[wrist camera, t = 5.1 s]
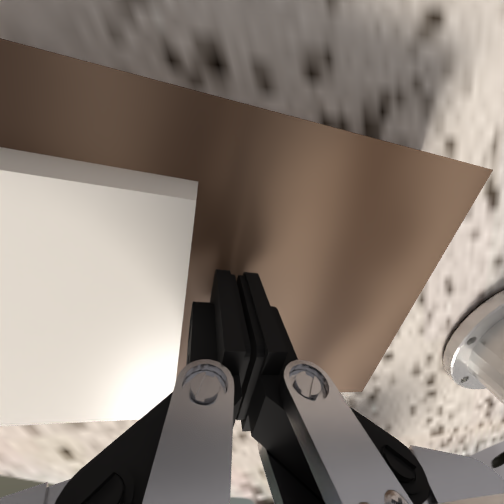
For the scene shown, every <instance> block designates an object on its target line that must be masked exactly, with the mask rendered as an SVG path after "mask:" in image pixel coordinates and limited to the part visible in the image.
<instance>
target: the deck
mask: <svg viewBox="0 0 504 504" xmlns="http://www.w3.org/2000/svg"><path fill="white" fill-rule="evenodd" d="M0 147H3V148H8V149H14V150H20V151H26V152H31V153H37V154H43V155H49V156H54V157H60V158H66V159H72V160H77V161H83V162H89V163H95V164H100V165H106V166H112V167H117V168H123V169H129V170H135V171H140V172H146V173H152V174H158V175H163V176H169V177H175V178H181V179H186V180H192V181H198V189H197V199H196V208H195V216H194V225H193V234H192V243H191V252H190V260H189V269H188V278H187V287H186V296H185V304H184V313H183V322H182V331H181V340H180V349H179V357H178V366H177V375H176V379H177V377H178V375H179V373H180V371H181V370H182V369H183V368H184V367H185V366H186V362H187V348H188V334H189V325H190V317H191V310H192V303H193V301H194V302H210V297H211V291H212V286H213V280H214V274H215V270H216V269H220V270H230V272H231V274H234V275H235V276H236V281H237V277H238V275H243V273H244V272H251V273H258V274H259V277H260V280H261V282H262V285H263V287H264V290H265V293H266V295H267V298H268V301H269V303H270V306H274V307H276V308H277V309H278V311H279V314H280V316H281V319H282V321H283V324H284V326H285V328H286V331H287V333H288V336H289V338H290V341H291V343H292V346H293V348H294V350H295V353H296V355H297V358H298V360H306V361H310V362H312V363H314V364H316V365H318V366H319V367H320V368H322V369H323V370H324V371H325V372H326V373H327V374H328V376H329V377H330V378H331V380H332V381H333V383H334V384H335V386H336V387H337V389H338V390H339V392H362V391H363V389H364V388H365V386H366V384H367V382H368V381H369V379H370V377H371V376H372V374H373V372H374V371H375V369H376V367H377V366H378V364H379V362H380V360H381V359H382V357H383V355H384V354H385V352H386V350H387V349H388V347H389V345H390V344H391V342H392V340H393V338H394V337H395V335H396V333H397V332H398V330H399V328H400V327H401V325H402V323H403V321H404V320H405V318H406V316H407V315H408V313H409V311H410V310H411V308H412V306H413V305H414V303H415V301H416V299H417V298H418V296H419V294H420V293H421V291H422V289H423V288H424V286H425V284H426V283H427V281H428V279H429V277H430V276H431V274H432V272H433V271H434V269H435V267H436V266H437V264H438V262H439V261H440V259H441V257H442V255H443V254H444V252H445V250H446V249H447V247H448V245H449V244H450V242H451V240H452V238H453V237H454V235H455V233H456V232H457V230H458V228H459V227H460V225H461V223H462V222H463V220H464V218H465V216H466V215H467V213H468V211H469V210H470V208H471V206H472V205H473V203H474V201H475V200H476V198H477V196H478V194H479V193H480V191H481V189H482V188H483V186H484V184H485V183H486V181H487V179H488V178H489V176H490V174H491V172H492V171H493V170H491V169H488V168H484V167H480V166H476V165H473V164H469V163H465V162H461V161H458V160H454V159H450V158H446V157H443V156H439V155H435V154H431V153H428V152H424V151H420V150H416V149H413V148H409V147H405V146H401V145H398V144H394V143H390V142H386V141H383V140H379V139H375V138H371V137H368V136H364V135H360V134H356V133H353V132H349V131H345V130H341V129H338V128H334V127H330V126H326V125H323V124H319V123H315V122H311V121H308V120H304V119H300V118H297V117H293V116H289V115H285V114H282V113H278V112H274V111H270V110H267V109H263V108H259V107H255V106H252V105H248V104H244V103H240V102H237V101H233V100H229V99H225V98H222V97H218V96H214V95H210V94H207V93H203V92H199V91H195V90H192V89H188V88H184V87H180V86H177V85H173V84H169V83H165V82H162V81H158V80H154V79H150V78H147V77H143V76H139V75H135V74H132V73H128V72H124V71H120V70H117V69H113V68H109V67H105V66H102V65H98V64H94V63H90V62H87V61H83V60H79V59H75V58H72V57H68V56H64V55H60V54H57V53H53V52H49V51H45V50H42V49H38V48H34V47H30V46H27V45H23V44H19V43H15V42H12V41H8V40H4V39H0Z"/></svg>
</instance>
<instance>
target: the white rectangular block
mask: <svg viewBox="0 0 504 504" xmlns="http://www.w3.org/2000/svg"><path fill="white" fill-rule="evenodd" d="M197 189H198V181H192V180H186V179H181V178H175V177H169V176H163V175H158V174H152V173H146V172H140V171H135V170H129V169H123V168H117V167H112V166H106V165H100V164H95V163H89V162H83V161H77V160H72V159H66V158H60V157H54V156H49V155H43V154H37V153H31V152H26V151H20V150H14V149H8V148H3V147H0V426H16V425H36V424H56V423H76V422H96V421H116V420H136V419H141V418H142V417H143V416H144V415H146V414H147V413H148V412H149V411H150V410H152V409H153V408H154V407H155V406H156V405H158V404H159V403H160V402H161V401H162V400H163V399H165V398H166V397H167V396H168V395H169V394H171V393H172V392H173V390H174V386H175V383H176V375H177V366H178V357H179V349H180V340H181V331H182V322H183V313H184V304H185V296H186V287H187V278H188V269H189V260H190V252H191V243H192V234H193V225H194V216H195V208H196V199H197Z"/></svg>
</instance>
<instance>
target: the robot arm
mask: <svg viewBox="0 0 504 504" xmlns="http://www.w3.org/2000/svg"><path fill="white" fill-rule="evenodd" d="M443 366H444V370H445V371H446V373H447V374H448V376H449V377H450V378H451V379H452V380H453V381H454V382H455V383H456V384H458V385H460V386H462V387H464V388H470V389H484V388H487V389H488V390H489V391H490V392H491V393H492V394H493V395H494V396H495V397H497V398H498V399H499V400H500V401H501V402H502V403H503V404H504V290H503V291H501V292H499V293H497V294H495V295H494V296H492V297H491V298H490V299H488V300H487V301H485V302H484V303H482V304H481V305H480V306H479V307H478V308H476V309H475V310H474V311H473V312H472V313H471V314H470V315H469V316H468V317H467V318H466V319H465V320H464V321H463V322H462V323H461V324H460V325H459V327H458V328H457V329H456V331H455V332H454V333H453V335H452V336H451V338H450V340H449V342H448V343H447V346H446V349H445V351H444V356H443ZM235 420H241V424H242V431H251V436H252V437H253V438H254V439H255V440H257V441H258V449H259V454H260V457H261V461H262V464H263V467H264V471H265V474H266V477H267V481H268V484H269V487H270V490H271V494H272V497H273V500H274V504H504V480H503V479H502V477H500V476H499V475H498V474H497V473H496V472H495V471H494V470H493V469H492V468H490V467H489V466H487V465H486V464H484V463H483V462H481V461H479V460H477V459H474V458H471V457H466V456H462V455H457V454H452V453H447V452H442V451H437V450H432V449H427V448H422V447H417V446H412V445H411V446H410V447H409V448H407V447H406V446H405V445H404V444H402V443H401V442H400V441H399V440H397V439H396V438H394V437H393V436H391V435H390V434H389V433H387V432H386V431H384V430H383V429H381V428H380V427H378V426H377V425H375V424H374V423H372V422H371V421H370V420H368V419H367V418H365V417H364V416H362V415H361V414H359V413H358V412H356V411H355V410H354V409H352V408H351V407H349V405H348V404H347V402H346V401H345V399H344V398H343V396H342V395H341V393H340V392H339V390H338V389H337V387H336V386H335V384H334V383H333V381H332V380H331V378H330V377H329V376H328V374H327V373H326V372H325V371H324V370H323V369H322V368H320V367H319V366H318V365H316V364H314V363H312V362H310V361H306V360H298V358H297V355H296V353H295V350H294V348H293V346H292V343H291V341H290V338H289V336H288V333H287V331H286V328H285V326H284V324H283V321H282V319H281V316H280V314H279V311H278V309H277V308H276V307H274V306H270V303H269V301H268V298H267V295H266V293H265V290H264V287H263V285H262V282H261V280H260V277H259V274H258V273H251V272H244V273H243V275H238V277H237V281H236V276H235V275H234V274H231V272H230V270H220V269H216V270H215V274H214V280H213V286H212V291H211V297H210V302H194V301H193V303H192V310H191V317H190V325H189V334H188V348H187V362H186V366H185V367H184V368H183V369H182V370H181V371H180V373H179V375H178V377H177V379H176V383H175V386H174V390H173V392H172V393H171V394H169V395H168V396H167V397H166V398H165V399H163V400H162V401H161V402H160V403H159V404H158V405H156V406H155V407H154V408H153V409H152V410H150V411H149V412H148V413H147V414H146V415H144V416H143V417H142V418H141V419H140V420H139V421H137V422H136V423H135V424H134V425H133V426H131V427H130V428H129V429H128V430H127V431H126V432H124V433H123V434H122V435H121V436H120V437H118V438H117V439H116V440H115V441H114V442H112V443H111V444H110V445H109V446H108V447H107V448H105V449H104V450H103V451H102V452H101V453H99V454H98V455H97V456H96V457H95V458H93V459H92V460H91V461H90V462H89V463H88V464H86V465H85V466H84V467H83V468H82V469H80V470H79V471H78V472H77V473H76V474H75V475H74V476H73V478H72V479H70V480H67V481H64V482H61V483H58V484H55V485H52V486H48V482H46V483H43V484H40V485H37V486H34V487H31V488H28V489H25V490H22V491H19V492H16V493H13V494H10V495H7V496H4V497H1V498H0V504H230V488H231V461H232V434H233V426H234V423H235Z"/></svg>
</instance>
